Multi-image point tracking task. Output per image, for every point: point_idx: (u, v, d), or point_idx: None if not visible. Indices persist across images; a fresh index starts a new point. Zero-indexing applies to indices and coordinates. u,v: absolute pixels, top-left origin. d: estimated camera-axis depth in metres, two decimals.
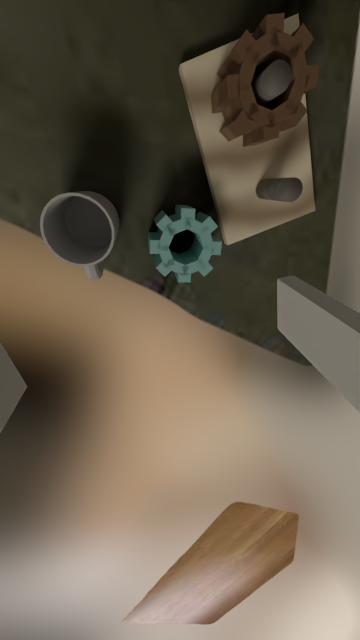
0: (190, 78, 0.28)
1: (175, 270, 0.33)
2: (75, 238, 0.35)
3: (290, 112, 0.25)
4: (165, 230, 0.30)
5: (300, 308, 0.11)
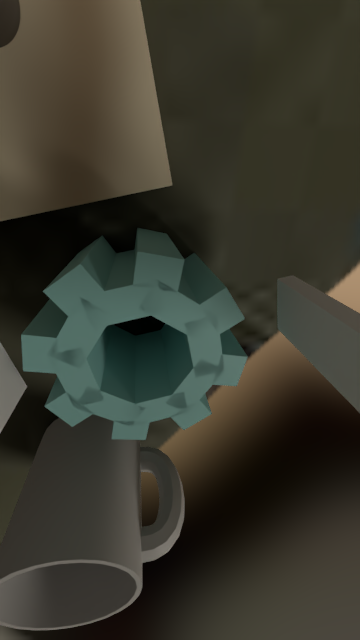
0: None
1: (202, 391, 0.12)
2: None
3: None
4: (88, 409, 0.11)
5: (300, 308, 0.11)
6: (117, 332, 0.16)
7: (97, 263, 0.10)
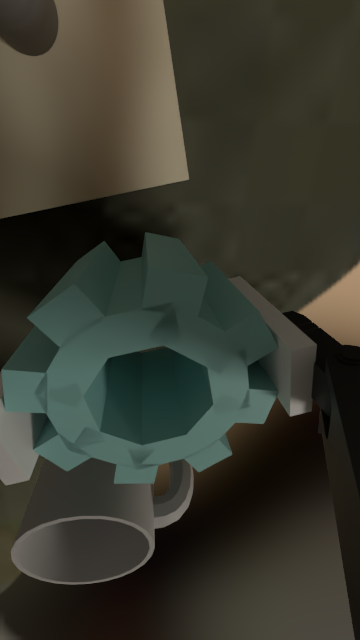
0: None
1: (222, 430, 0.10)
2: None
3: None
4: (85, 452, 0.09)
5: None
6: None
7: (97, 278, 0.08)
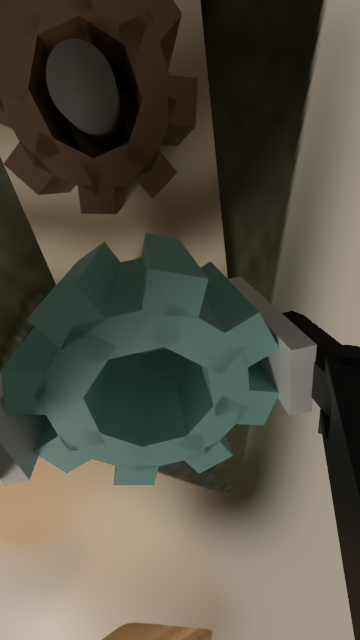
0: None
1: (222, 431, 0.10)
2: None
3: (137, 169, 0.12)
4: (85, 453, 0.09)
5: None
6: None
7: (97, 279, 0.08)
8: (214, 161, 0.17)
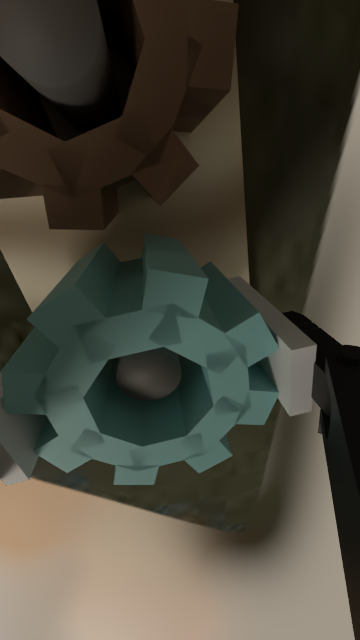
0: None
1: (222, 431, 0.10)
2: None
3: (137, 160, 0.07)
4: (86, 453, 0.09)
5: None
6: None
7: (97, 279, 0.08)
8: (239, 153, 0.13)
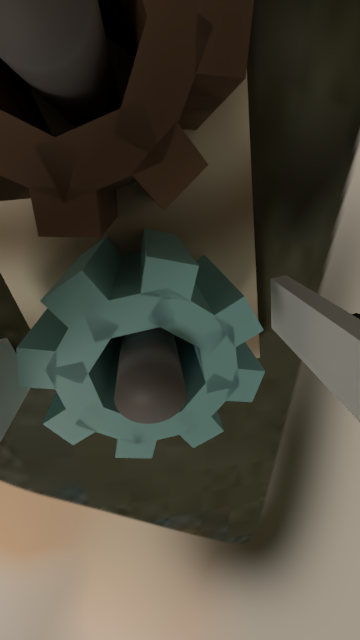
0: None
1: (214, 407, 0.11)
2: None
3: (137, 158, 0.06)
4: (90, 426, 0.10)
5: (292, 307, 0.11)
6: None
7: (101, 268, 0.09)
8: (248, 153, 0.12)
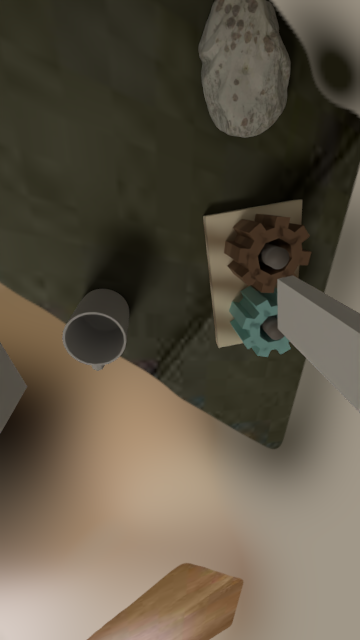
0: (211, 227, 0.34)
1: None
2: (86, 322, 0.38)
3: None
4: (254, 343, 0.35)
5: (300, 308, 0.11)
6: None
7: None
8: None
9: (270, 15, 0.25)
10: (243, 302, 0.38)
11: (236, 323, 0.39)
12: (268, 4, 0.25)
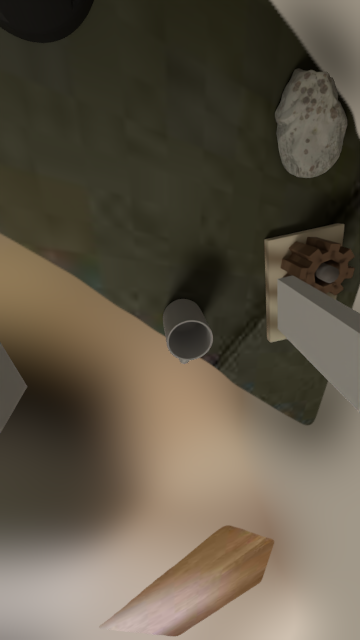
0: (272, 248, 0.43)
1: None
2: None
3: (333, 288, 0.41)
4: None
5: (300, 308, 0.11)
6: None
7: None
8: None
9: (332, 88, 0.33)
10: None
11: None
12: (330, 79, 0.33)
